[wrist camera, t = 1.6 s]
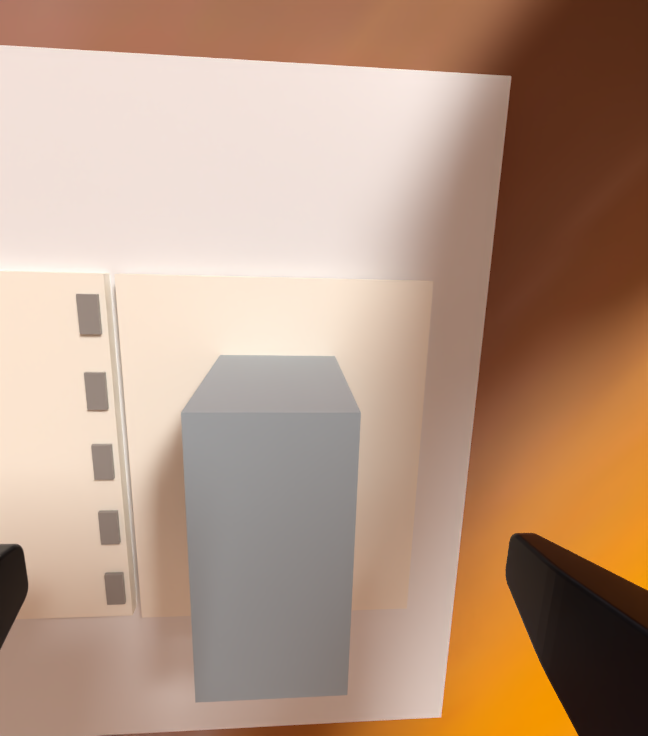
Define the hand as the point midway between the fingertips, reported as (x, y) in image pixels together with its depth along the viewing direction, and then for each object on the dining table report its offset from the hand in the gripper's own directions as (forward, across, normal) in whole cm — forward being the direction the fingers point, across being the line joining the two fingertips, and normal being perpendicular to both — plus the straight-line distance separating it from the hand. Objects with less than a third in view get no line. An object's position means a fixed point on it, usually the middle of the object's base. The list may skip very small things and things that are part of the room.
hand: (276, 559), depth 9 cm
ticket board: (+6, +5, 0) cm, 8 cm away
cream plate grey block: (+5, 0, 0) cm, 5 cm away
